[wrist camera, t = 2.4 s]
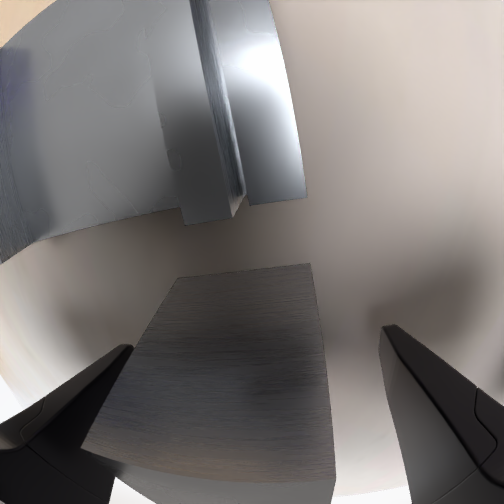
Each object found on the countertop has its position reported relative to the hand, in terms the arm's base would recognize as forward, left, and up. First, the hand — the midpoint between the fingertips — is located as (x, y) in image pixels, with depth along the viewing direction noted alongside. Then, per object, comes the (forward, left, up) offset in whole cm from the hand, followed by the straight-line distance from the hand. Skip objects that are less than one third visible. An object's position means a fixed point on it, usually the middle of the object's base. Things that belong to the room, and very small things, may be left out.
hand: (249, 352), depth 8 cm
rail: (+8, +8, -1) cm, 11 cm away
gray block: (0, 0, -1) cm, 1 cm away
